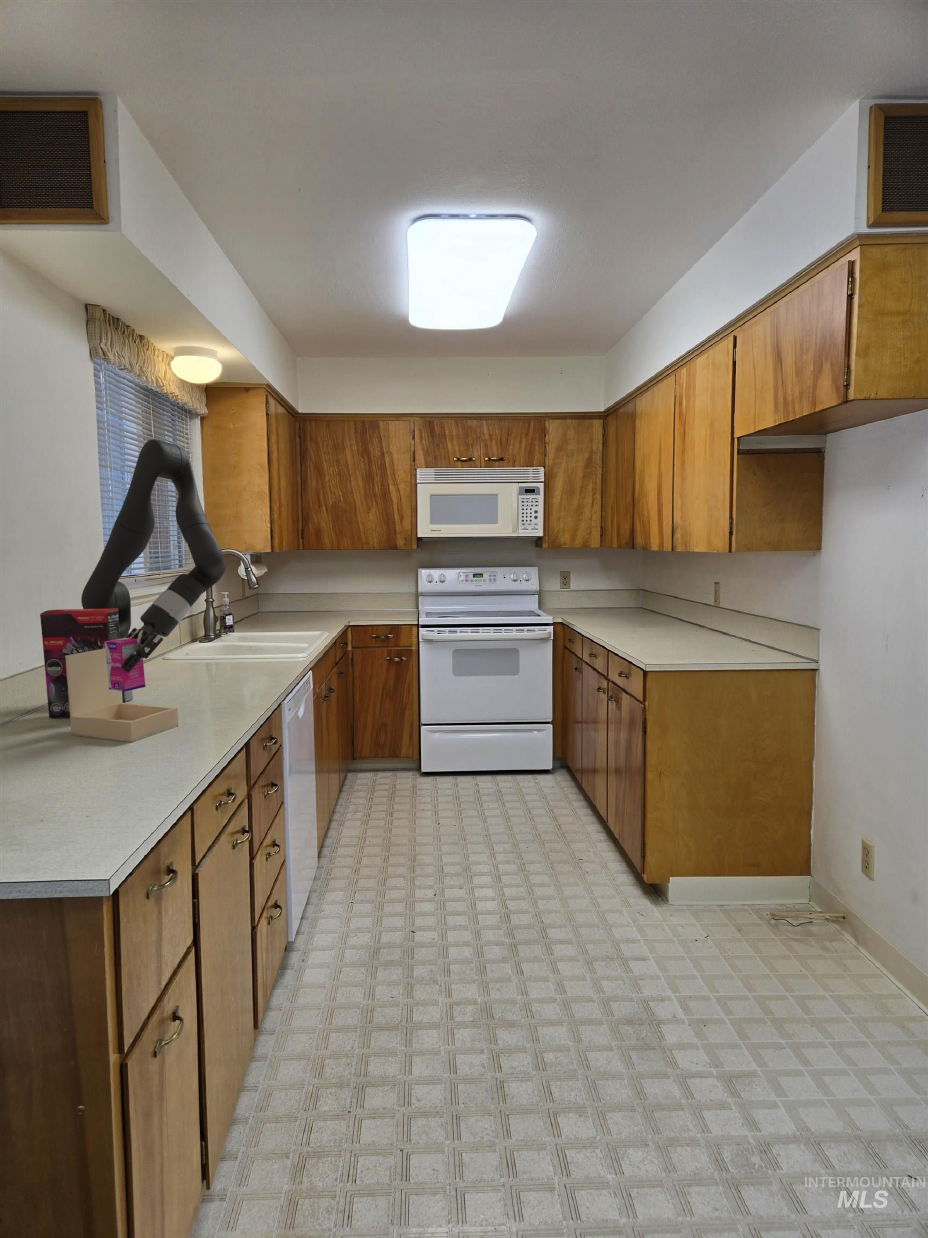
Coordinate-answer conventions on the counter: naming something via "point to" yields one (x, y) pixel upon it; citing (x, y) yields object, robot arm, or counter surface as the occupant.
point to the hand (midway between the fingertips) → (118, 668)
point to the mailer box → (108, 704)
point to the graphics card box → (72, 647)
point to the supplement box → (115, 658)
